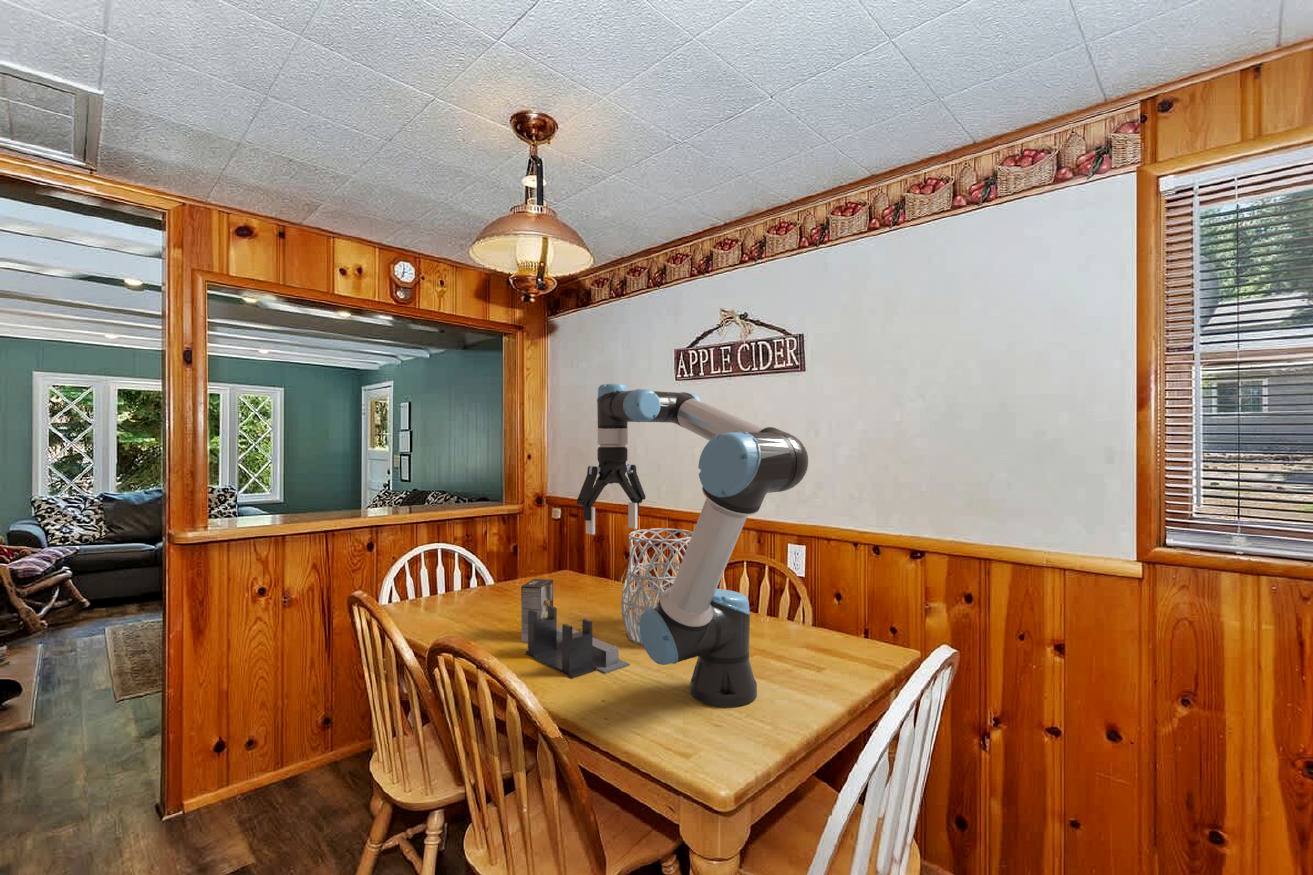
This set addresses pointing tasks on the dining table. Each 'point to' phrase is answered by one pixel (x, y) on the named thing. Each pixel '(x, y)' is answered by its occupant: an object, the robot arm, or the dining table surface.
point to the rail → (597, 650)
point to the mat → (605, 669)
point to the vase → (632, 622)
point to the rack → (574, 646)
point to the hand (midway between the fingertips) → (612, 531)
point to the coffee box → (535, 601)
